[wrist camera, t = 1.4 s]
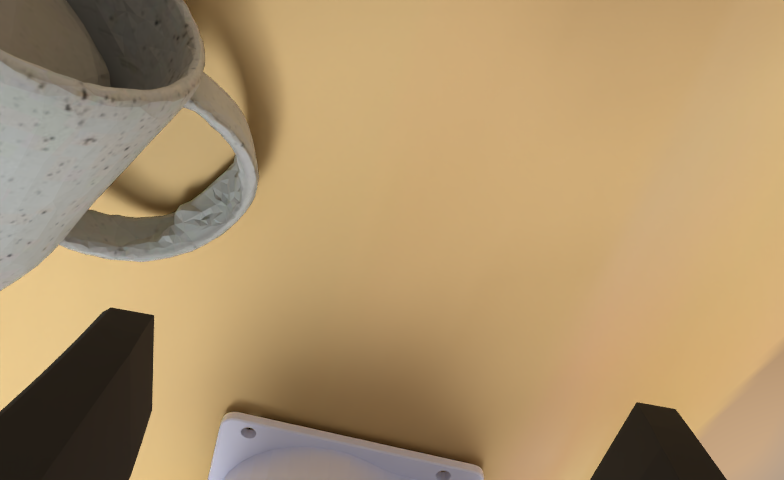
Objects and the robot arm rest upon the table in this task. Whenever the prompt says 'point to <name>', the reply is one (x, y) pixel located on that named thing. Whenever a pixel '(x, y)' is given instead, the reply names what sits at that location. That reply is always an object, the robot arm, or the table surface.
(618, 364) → the table surface
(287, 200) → the table surface
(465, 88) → the table surface
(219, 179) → the ceramic mug
